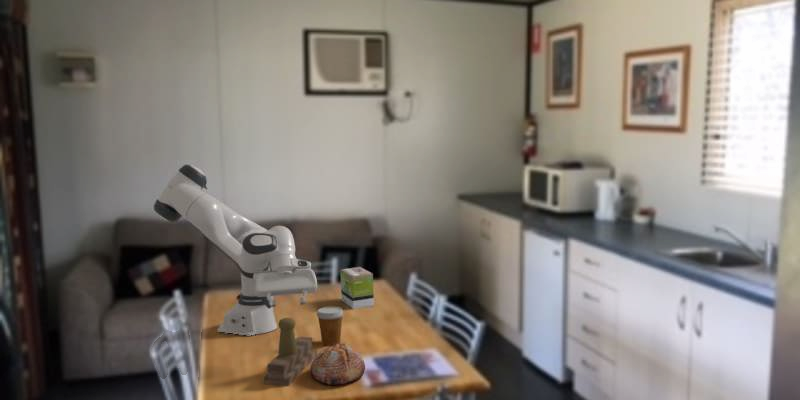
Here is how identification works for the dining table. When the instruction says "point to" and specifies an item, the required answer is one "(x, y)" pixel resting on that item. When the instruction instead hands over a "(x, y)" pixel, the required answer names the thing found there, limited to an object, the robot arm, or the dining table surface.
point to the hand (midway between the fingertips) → (288, 304)
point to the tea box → (357, 287)
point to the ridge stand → (290, 363)
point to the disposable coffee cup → (330, 324)
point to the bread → (337, 365)
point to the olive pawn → (287, 337)
